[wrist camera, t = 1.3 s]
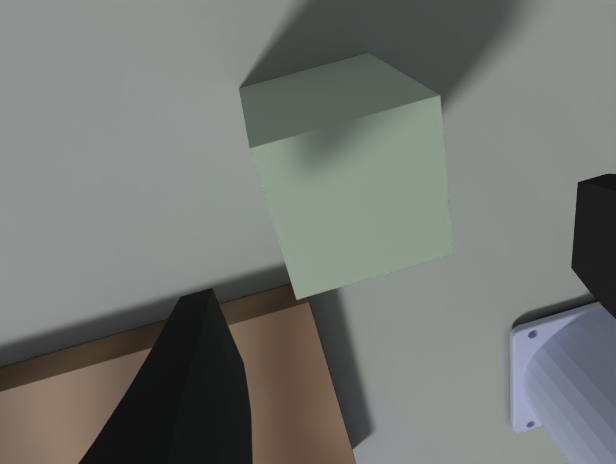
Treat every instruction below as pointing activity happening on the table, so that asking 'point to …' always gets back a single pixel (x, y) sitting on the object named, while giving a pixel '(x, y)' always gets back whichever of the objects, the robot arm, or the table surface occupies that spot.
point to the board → (131, 355)
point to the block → (350, 171)
